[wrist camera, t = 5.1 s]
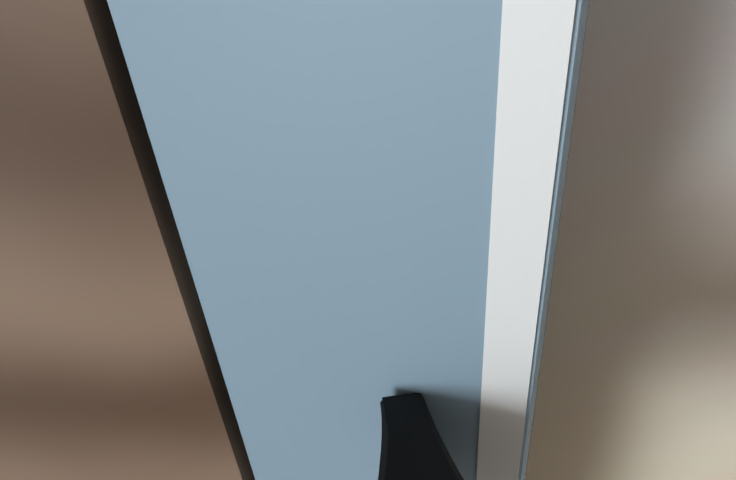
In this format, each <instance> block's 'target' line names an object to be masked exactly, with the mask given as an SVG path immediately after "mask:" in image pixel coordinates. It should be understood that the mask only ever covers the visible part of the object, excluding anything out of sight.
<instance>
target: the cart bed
mask: <svg viewBox="0 0 736 480" xmlns="http://www.w3.org/2000/svg"><path fill="white" fill-rule="evenodd" d="M0 480H255V477H254V474H253V471H252V467H251V464H250V461H249V458H248V454H247V451H246V448H245V445H244V442H243V438H242V435H241V432H240V429H239V425H238V422H237V419H236V416H235V413H234V409H233V406H232V403H231V400H230V396H229V393H228V390H227V387H226V383H225V380H224V377H223V374H222V371H221V367H220V364H219V361H218V358H217V354H216V351H215V348H214V345H213V341H212V338H211V335H210V332H209V329H208V325H207V322H206V319H205V316H204V312H203V309H202V306H201V303H200V299H199V296H198V293H197V290H196V287H195V283H194V280H193V277H192V274H191V270H190V267H189V264H188V261H187V257H186V254H185V251H184V248H183V245H182V241H181V238H180V235H179V232H178V228H177V225H176V222H175V219H174V216H173V212H172V209H171V206H170V203H169V199H168V196H167V193H166V190H165V186H164V183H163V180H162V177H161V174H160V170H159V167H158V164H157V161H156V157H155V154H154V151H153V148H152V144H151V141H150V138H149V135H148V132H147V128H146V125H145V122H144V119H143V115H142V112H141V109H140V106H139V102H138V99H137V96H136V93H135V90H134V86H133V83H132V80H131V77H130V73H129V70H128V67H127V64H126V61H125V57H124V54H123V51H122V48H121V44H120V41H119V38H118V35H117V31H116V28H115V25H114V22H113V19H112V15H111V12H110V9H109V6H108V2H107V0H0Z"/></svg>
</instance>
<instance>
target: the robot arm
mask: <svg viewBox="0 0 736 480" xmlns="http://www.w3.org/2000/svg"><path fill="white" fill-rule="evenodd" d="M380 406H381V417H382V438H381V454H380V465H379V475H378V480H464V479H463V477H462V476H461V474H460V472H459V470H458V469H457V467H456V465H455V463H454V461H453V459H452V458H451V456H450V454H449V452H448V450H447V448H446V446H445V444H444V442H443V440H442V438H441V436H440V434H439V432H438V430H437V428H436V426H435V424H434V422H433V419H432V417H431V414H430V412H429V410H428V407H427V405H426V402H425V399H424V398H423V397H422V394H421V393H410V394H402V395H395V396H387V397H382V401H381V402H380Z"/></svg>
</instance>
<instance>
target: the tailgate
mask: <svg viewBox="0 0 736 480" xmlns="http://www.w3.org/2000/svg"><path fill="white" fill-rule="evenodd" d="M107 2H108V6H109V9H110V12H111V15H112V19H113V22H114V25H115V28H116V31H117V35H118V38H119V41H120V44H121V48H122V51H123V54H124V57H125V61H126V64H127V67H128V70H129V73H130V77H131V80H132V83H133V86H134V90H135V93H136V96H137V99H138V102H139V106H140V109H141V112H142V115H143V119H144V122H145V125H146V128H147V132H148V135H149V138H150V141H151V144H152V148H153V151H154V154H155V157H156V161H157V164H158V167H159V170H160V174H161V177H162V180H163V183H164V186H165V190H166V193H167V196H168V199H169V203H170V206H171V209H172V212H173V216H174V219H175V222H176V225H177V228H178V232H179V235H180V238H181V241H182V245H183V248H184V251H185V254H186V257H187V261H188V264H189V267H190V270H191V274H192V277H193V280H194V283H195V287H196V290H197V293H198V296H199V299H200V303H201V306H202V309H203V312H204V316H205V319H206V322H207V325H208V329H209V332H210V335H211V338H212V341H213V345H214V348H215V351H216V354H217V358H218V361H219V364H220V367H221V371H222V374H223V377H224V380H225V383H226V387H227V390H228V393H229V396H230V400H231V403H232V406H233V409H234V413H235V416H236V419H237V422H238V425H239V429H240V432H241V435H242V438H243V442H244V445H245V448H246V451H247V454H248V458H249V461H250V464H251V467H252V471H253V474H254V477H255V480H378V475H379V465H380V454H381V438H382V417H381V406H380V402H381V401H382V397H387V396H395V395H402V394H410V393H421V394H422V397H423V398H424V399H425V402H426V405H427V407H428V410H429V412H430V414H431V417H432V419H433V422H434V424H435V426H436V428H437V430H438V432H439V434H440V436H441V438H442V440H443V442H444V444H445V446H446V448H447V450H448V452H449V454H450V456H451V458H452V459H453V461H454V463H455V465H456V467H457V469H458V470H459V472H460V474H461V476H462V477H463V479H464V480H525V475H526V468H527V460H528V453H529V446H530V438H531V431H532V423H533V416H534V408H535V401H536V393H537V386H538V378H539V371H540V364H541V356H542V349H543V341H544V334H545V326H546V319H547V311H548V304H549V296H550V289H551V282H552V274H553V267H554V259H555V252H556V244H557V237H558V229H559V222H560V214H561V207H562V200H563V192H564V185H565V177H566V170H567V162H568V155H569V147H570V140H571V132H572V125H573V118H574V110H575V103H576V95H577V88H578V80H579V73H580V65H581V58H582V51H583V43H584V36H585V28H586V21H587V13H588V6H589V0H107Z"/></svg>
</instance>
